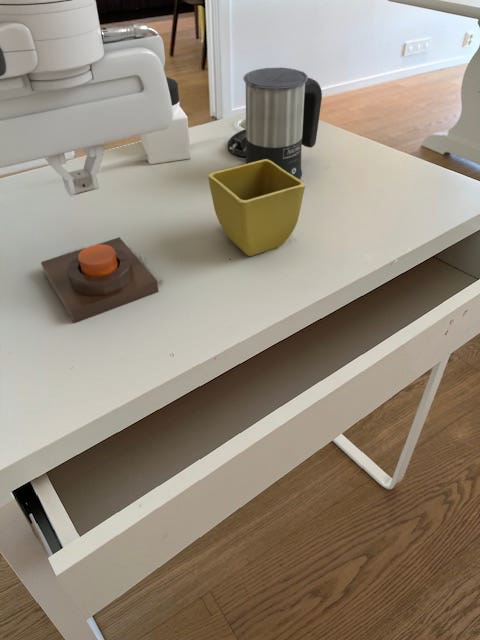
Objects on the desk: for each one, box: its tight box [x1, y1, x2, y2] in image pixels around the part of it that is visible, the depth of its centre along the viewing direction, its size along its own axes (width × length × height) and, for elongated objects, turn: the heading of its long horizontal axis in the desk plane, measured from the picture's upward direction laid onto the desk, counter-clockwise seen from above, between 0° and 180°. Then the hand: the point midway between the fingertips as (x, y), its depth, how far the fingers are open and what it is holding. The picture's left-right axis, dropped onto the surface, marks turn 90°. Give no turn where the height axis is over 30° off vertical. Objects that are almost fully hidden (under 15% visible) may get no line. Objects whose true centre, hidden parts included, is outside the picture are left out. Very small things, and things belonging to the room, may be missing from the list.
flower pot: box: [207, 159, 306, 257], centre depth 63 cm, size 9×9×9 cm
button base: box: [40, 237, 160, 324], centre depth 59 cm, size 11×10×4 cm
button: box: [78, 243, 118, 277], centre depth 57 cm, size 4×4×2 cm
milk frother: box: [226, 67, 323, 180], centre depth 79 cm, size 14×16×15 cm
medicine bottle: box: [139, 76, 192, 165], centre depth 84 cm, size 7×7×12 cm
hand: (82, 190), depth 51 cm, fingers closed
